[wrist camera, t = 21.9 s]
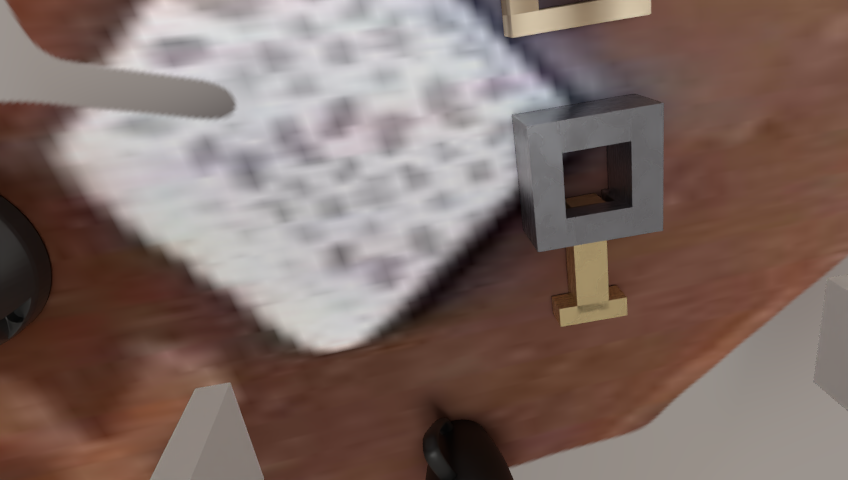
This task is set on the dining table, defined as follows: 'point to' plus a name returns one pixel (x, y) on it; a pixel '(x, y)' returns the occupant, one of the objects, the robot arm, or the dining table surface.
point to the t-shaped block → (588, 280)
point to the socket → (626, 159)
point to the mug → (462, 452)
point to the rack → (565, 14)
